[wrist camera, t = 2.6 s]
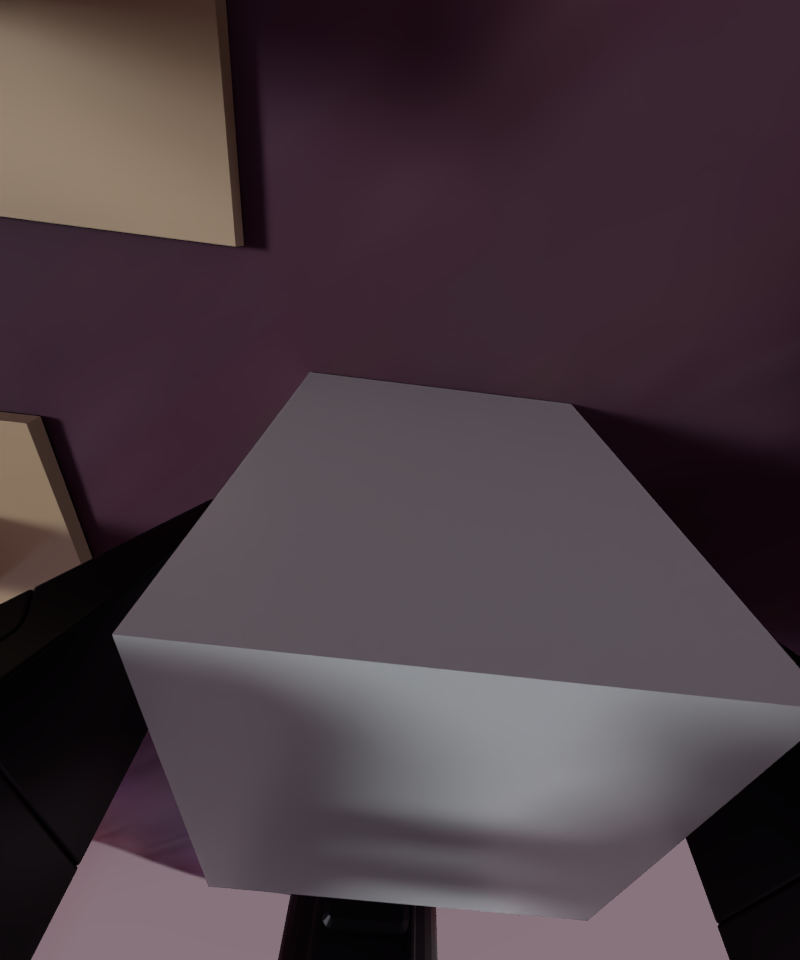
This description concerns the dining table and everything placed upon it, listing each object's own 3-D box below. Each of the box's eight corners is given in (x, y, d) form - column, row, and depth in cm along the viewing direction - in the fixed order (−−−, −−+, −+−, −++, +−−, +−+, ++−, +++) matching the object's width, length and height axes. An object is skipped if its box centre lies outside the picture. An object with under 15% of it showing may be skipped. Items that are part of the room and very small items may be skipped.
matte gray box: (506, 589, 12) (587, 920, 6) (310, 567, 12) (208, 886, 6) (570, 403, 9) (836, 710, 3) (310, 372, 9) (111, 633, 3)
